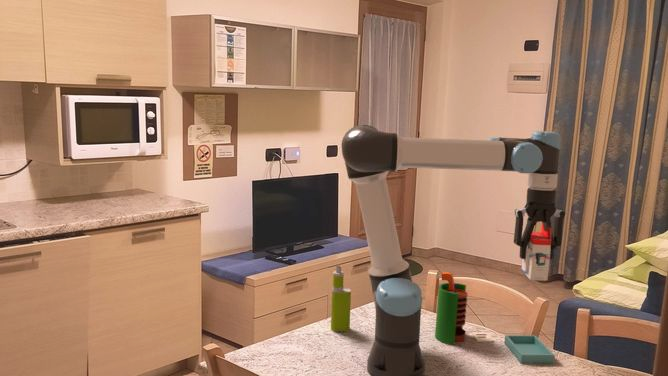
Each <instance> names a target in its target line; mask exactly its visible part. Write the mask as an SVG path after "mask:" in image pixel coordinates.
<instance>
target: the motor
mask: <svg viewBox="0 0 668 376" xmlns="http://www.w3.org/2000/svg"><path fill="white" fill-rule="evenodd" d="M441 281H447V282H444V283H441V284H439V285H438V294H437V306H436V319H435V330H434V331H435V333H434V338H435V339H436V340H437V341H439V342H441V343H444V344H447V345H452V346H454V345H455V344H461V343H464V342H465V340H466V333H467V332H466V330H465V329H464V328H463V327H464V326H465V325H466V316H467V315H466V314H467V307H468V306H467V305H468V304H467V303H468V297H469V294H468V292H467V291H466V289H467V285H466V284H463V283H459V282H455V280H454V276H453V274H452V273H451V272H448V271H443V272H442V273H441Z"/></svg>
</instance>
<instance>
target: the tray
mask: <svg viewBox="0 0 668 376" xmlns="http://www.w3.org/2000/svg"><path fill="white" fill-rule="evenodd" d="M504 345H505V346H506V347H507V349H509V351H510V352H511V353H512V354H513V356H514V357H515V358H516V360H517V361H518V362H519V363H520V364H544V365H545V364H546V365H547V364H548V365H549V364H552V365H553V363H555V354H554V353H553V351H551V350H550V349H549V348H548V346H546V345H545V343H544V342H542V340H540V338H539V337H538V336H536V335H535V334H534V335H532V334H529V335H528V334H527V335H525V334H522V335H521V334H516V335H515V334H511V335H510V334H504Z"/></svg>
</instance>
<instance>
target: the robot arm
mask: <svg viewBox="0 0 668 376" xmlns="http://www.w3.org/2000/svg"><path fill="white" fill-rule="evenodd" d="M561 145H562V144H561V135H560V133H559V132H556V131H545V130H543V131H542V130H541V131H539V130H538V131H537V130H536V131H535V130H534V131H532V133H531V135H530V138H529V137H528V138H514V137H501V136H499V137H489V138H488V139H485V140H484V139H460V138H459V139H458V138H457V139H456V138H455V139H454V138H453V139H452V138H430V137H429V138H427V137H426V138H425V137H404V136H401V135H400V134H399V133H397V132H385V131H381V130H378V129H377V128H376V127H374V126H372V125H368V124H360V125H359V124H358V125H357V126H356V125H355V126H353V127H351V128H350V129H348V131H346V132H345V133H344V136H343V137H342V140H341V155H342V158H343V160H344V165H345V169H346V173H347V178H348V179H349V180H350V181H351V182H353V183H354V184H355V185H354V186H355V188H356V194H357V198H358V202H359V203H358V204H359V207H360V213H361V218H362V222H363V227H364V231H365V235H366V240H367V245H368V246H367V247H368V250H369V255H370V259H371V264H372V265H371V266H370V268H369V269H368V276H369V281H370V286H371V290H372V291H371V292H372V295H373V301H374V307H375V308H374V309H375V325H374V327H375V328H374V341H373V344H372V346H371V349H370V352H369V355H368V357H367V359H366V360H367V362H366V370H367V372H368V374H369V375H371V376H424V375H425V370H426V369H425V367H426V364H425V361H424V360H425V359H424V356H423V354H422V353H423V352H422V349H421V347H420V334H421V332H420V331H421V314H422V304H423V296H422V295H423V293H422V289H421V287H420V285H419V284H418V283H416V282H414V281H413V277H412V273H411V268H410V264H409V262H407V261H406V260H405V259H403V257H402V251H401V246H400V241H399V235H398V232H397V230H398V229H397V226H396V221H395V216H394V212H393V206H392V202H391V196H390V192H389V187H388V183H387V182H388V180H387V176H388V173H390V172H398V170H399V169H401V168H403V169H406V168H407V169H431V170H432V169H435V170H437V169H439V170H467V171H469V170H471V171H495V172H496V171H498V172H499V171H501V172H517V173H518V174H525V175H526V174H528V178H527V186H528V188H527V191H526V204H525V205H524V207H523V208H521V209H517V208H515V210H514V215H515V225H514V227H515V228H514V233H513V243H514V245H516V246H518V247H519V258H520V259H521V270H522V269H523V270H524V271H528V264H529V252H530V249H529V248H528V247H527V246H528V243H529V240H530V237H531V234H532V232H534V229H535V226H537V223H539V222H541V224H542V223H543V227H544V231H546V232H548V230H547V226H548V227H550V228H551V230H552V220H551V218H552V216H553V215H554V222H553V226H554V227H553V230H552V231H553V233H552V234H551V248H550V258H549V263H550V260H553V258H554V250H556V249H557V247H561V246H562V236H563V224H564V223H563V221H564V218H565V216H566V212H565V211H563V210H561V209H557V208H556V201H557V200H556V198H557V190H556V189H557V187H558V177H559V176H558V175H559V163H560V153H561V150H562V149H561ZM525 215H527V216H528V217H527V218H526V224H525V228H524V217H525ZM523 228H524V230H523ZM549 272H550V267H549V268H548V273H549Z"/></svg>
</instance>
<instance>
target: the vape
mask: <svg viewBox="0 0 668 376" xmlns="http://www.w3.org/2000/svg"><path fill="white" fill-rule="evenodd" d="M344 274H345V272H344V271H342V266H340V265H336V266H335V270H334V271H333V272H332V275H333V276H332V277H333V278H332V289H331V295H330V296H331V297H330V298H331V304H330V305H331V310H330V312H331V313H330V330H331V331H332V330H333V331H332V332H335V331H347V332H349V331H350V329H351V327H350V326H351V299H352V297H351V295H352V289H351V288H348V287H344V277H345V275H344Z"/></svg>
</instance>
